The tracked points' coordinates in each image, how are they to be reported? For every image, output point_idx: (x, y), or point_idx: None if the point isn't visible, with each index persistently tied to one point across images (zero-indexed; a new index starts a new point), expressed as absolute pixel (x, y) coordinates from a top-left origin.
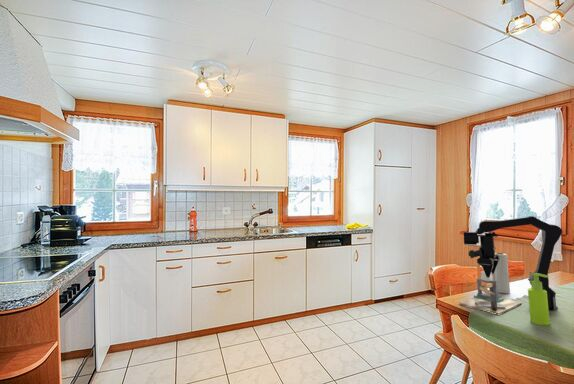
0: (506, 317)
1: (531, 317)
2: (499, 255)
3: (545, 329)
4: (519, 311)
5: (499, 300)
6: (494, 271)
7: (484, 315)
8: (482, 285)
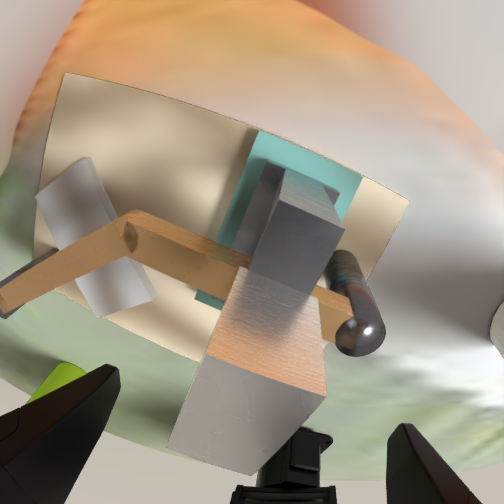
0: (41, 295)
1: (53, 372)
2: None
3: (36, 373)
4: (154, 359)
5: (215, 307)
6: (396, 480)
7: (8, 215)
8: (178, 247)
